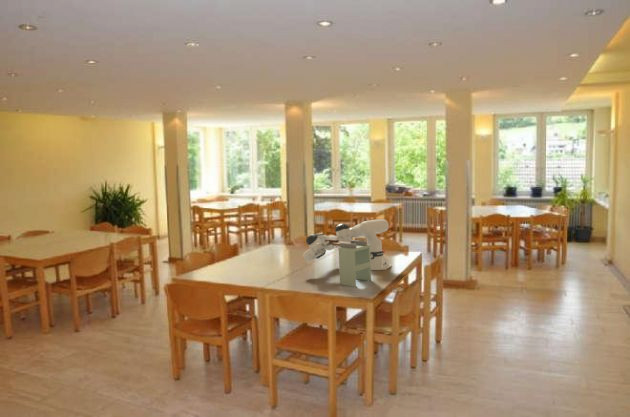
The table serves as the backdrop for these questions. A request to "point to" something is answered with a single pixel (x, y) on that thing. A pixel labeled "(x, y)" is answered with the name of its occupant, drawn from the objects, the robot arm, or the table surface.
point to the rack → (354, 261)
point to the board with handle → (336, 242)
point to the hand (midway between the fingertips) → (331, 241)
